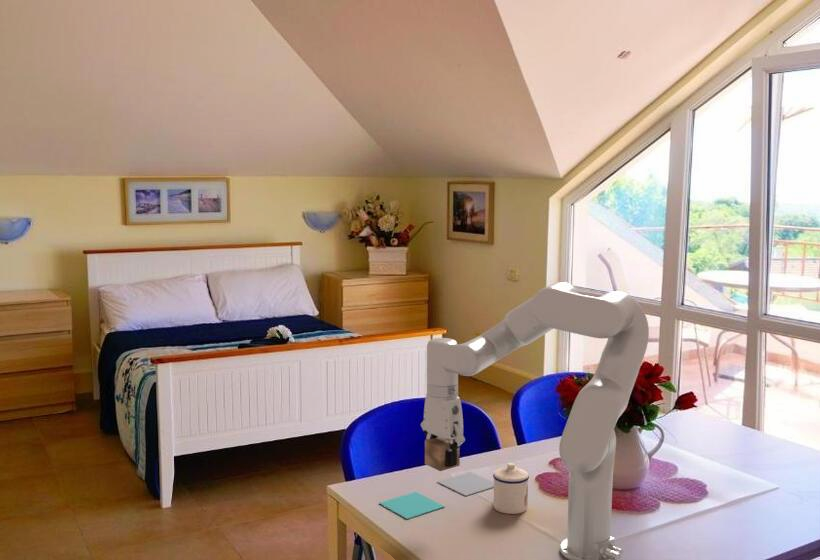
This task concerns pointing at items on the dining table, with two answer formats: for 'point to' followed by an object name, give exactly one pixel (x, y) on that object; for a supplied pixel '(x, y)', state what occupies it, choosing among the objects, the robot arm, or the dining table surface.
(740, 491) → the dining table surface
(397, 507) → the teal mat
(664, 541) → the dining table surface
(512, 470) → the teacup with lid
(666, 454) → the dining table surface
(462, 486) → the grey mat
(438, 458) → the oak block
